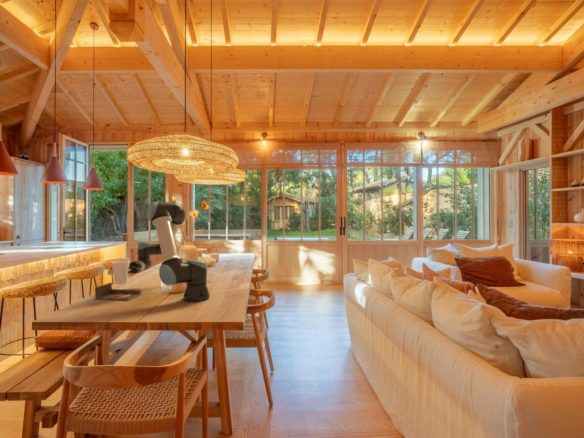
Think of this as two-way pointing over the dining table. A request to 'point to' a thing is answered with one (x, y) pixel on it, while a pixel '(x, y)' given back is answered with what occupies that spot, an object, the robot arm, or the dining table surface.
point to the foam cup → (120, 271)
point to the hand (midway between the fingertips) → (116, 272)
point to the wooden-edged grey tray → (115, 293)
